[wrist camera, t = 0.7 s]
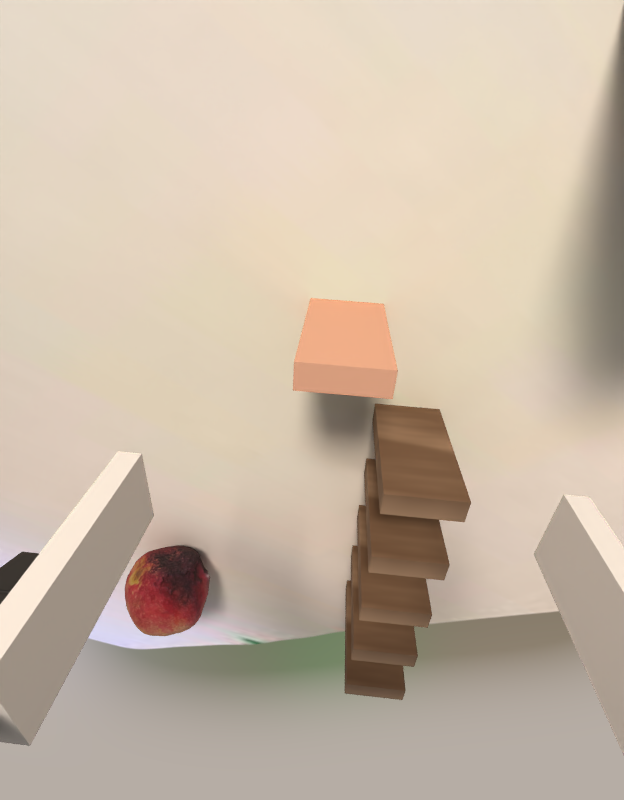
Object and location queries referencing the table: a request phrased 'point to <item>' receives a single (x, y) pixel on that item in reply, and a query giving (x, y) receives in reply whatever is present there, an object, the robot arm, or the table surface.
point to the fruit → (167, 590)
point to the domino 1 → (345, 350)
